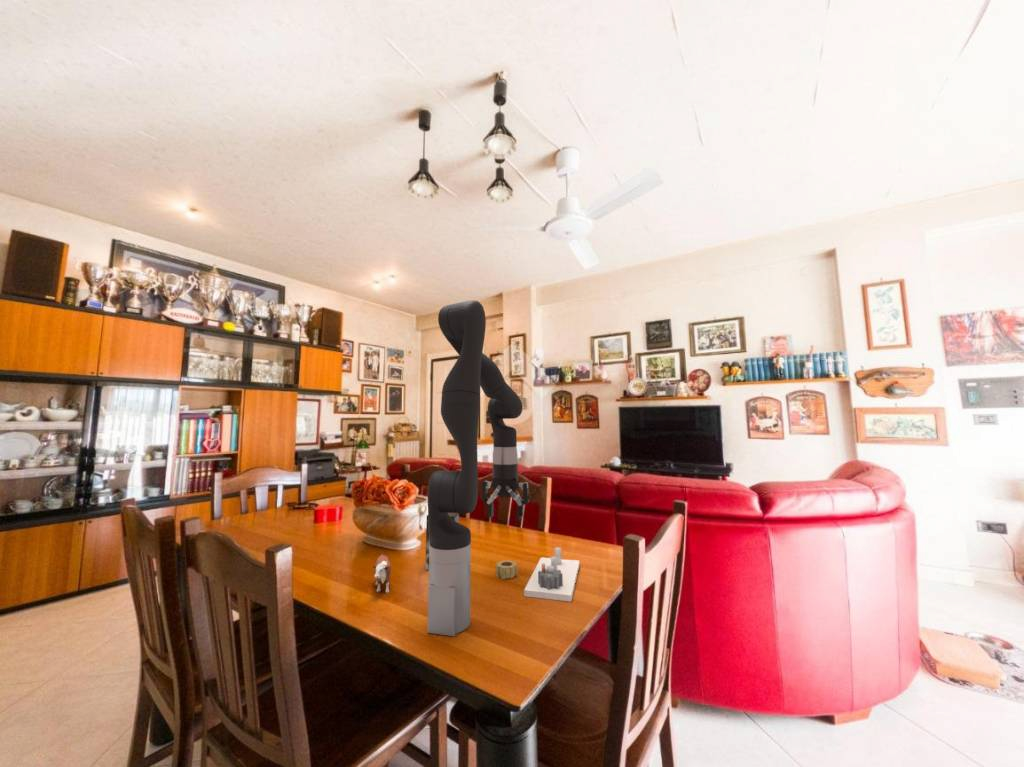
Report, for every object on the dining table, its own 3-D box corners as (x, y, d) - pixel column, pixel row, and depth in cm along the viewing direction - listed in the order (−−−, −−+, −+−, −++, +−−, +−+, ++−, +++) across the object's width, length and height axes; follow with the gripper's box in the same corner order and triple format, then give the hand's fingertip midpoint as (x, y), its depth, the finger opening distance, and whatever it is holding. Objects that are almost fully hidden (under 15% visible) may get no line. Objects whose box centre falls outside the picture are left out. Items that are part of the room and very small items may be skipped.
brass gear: (514, 580, 107) (514, 569, 107) (492, 578, 108) (492, 567, 108) (519, 571, 113) (519, 561, 113) (499, 569, 114) (499, 559, 115)
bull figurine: (371, 601, 95) (372, 567, 95) (375, 579, 108) (376, 549, 108) (389, 599, 96) (390, 565, 97) (391, 577, 109) (392, 548, 110)
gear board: (571, 601, 94) (570, 574, 94) (524, 596, 97) (523, 569, 97) (579, 565, 117) (579, 544, 118) (541, 562, 120) (540, 541, 121)
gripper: (478, 462, 112) (478, 519, 110) (525, 463, 108) (526, 522, 107) (486, 460, 119) (486, 513, 118) (530, 461, 116) (531, 515, 114)
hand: (505, 517), depth 112 cm, fingers open, 8 cm apart
